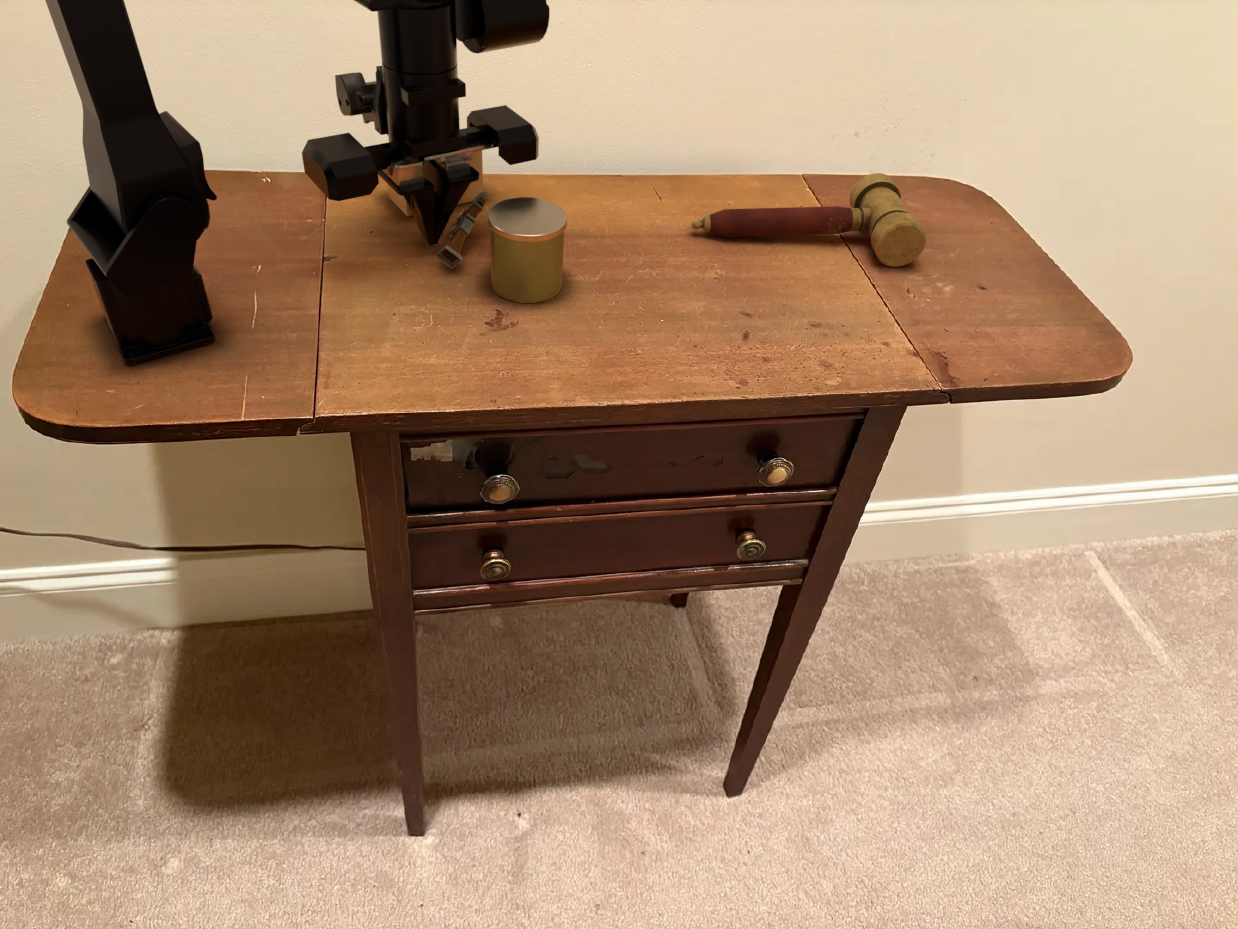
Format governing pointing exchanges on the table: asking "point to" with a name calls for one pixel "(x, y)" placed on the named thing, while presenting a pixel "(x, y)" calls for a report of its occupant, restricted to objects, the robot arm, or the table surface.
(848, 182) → the table surface
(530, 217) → the enamel tin
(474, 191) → the birch block
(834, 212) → the gavel
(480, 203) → the wooden lantern post
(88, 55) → the robot arm
